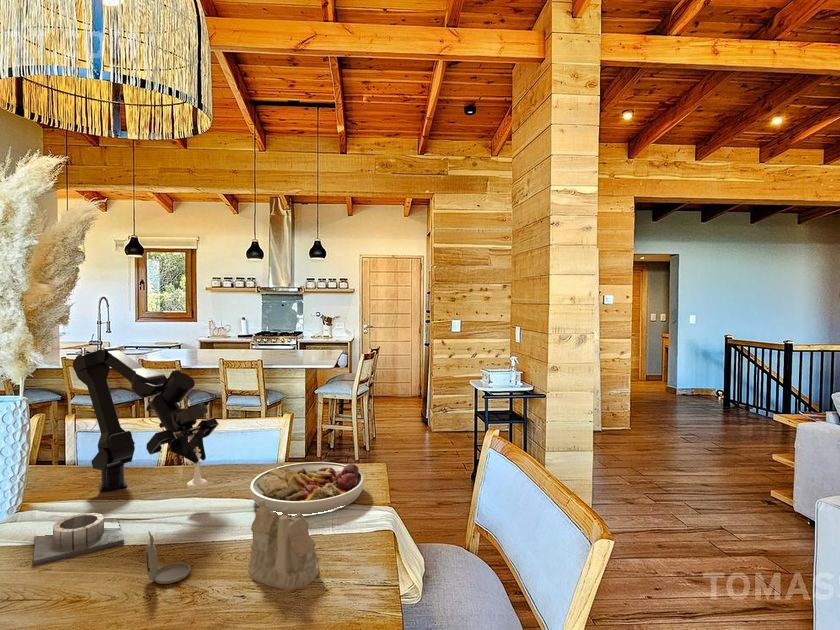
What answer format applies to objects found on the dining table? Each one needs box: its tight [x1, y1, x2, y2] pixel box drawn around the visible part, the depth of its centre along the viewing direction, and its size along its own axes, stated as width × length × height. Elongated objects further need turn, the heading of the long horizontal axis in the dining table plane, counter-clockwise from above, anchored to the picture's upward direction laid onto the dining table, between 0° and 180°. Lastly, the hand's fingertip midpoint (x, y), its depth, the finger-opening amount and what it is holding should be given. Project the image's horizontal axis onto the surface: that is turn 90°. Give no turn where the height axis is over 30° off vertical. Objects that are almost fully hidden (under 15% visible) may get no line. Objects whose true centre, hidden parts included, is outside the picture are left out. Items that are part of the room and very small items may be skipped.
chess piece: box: [186, 447, 208, 490], centre depth 133 cm, size 5×5×10 cm
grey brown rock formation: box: [247, 499, 320, 591], centre depth 106 cm, size 16×16×15 cm
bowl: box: [249, 461, 365, 514], centre depth 141 cm, size 30×30×8 cm
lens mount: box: [32, 512, 125, 566], centre depth 116 cm, size 16×16×4 cm
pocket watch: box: [145, 530, 191, 585], centre depth 100 cm, size 8×8×10 cm
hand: (200, 460), depth 133 cm, fingers closed on chess piece
